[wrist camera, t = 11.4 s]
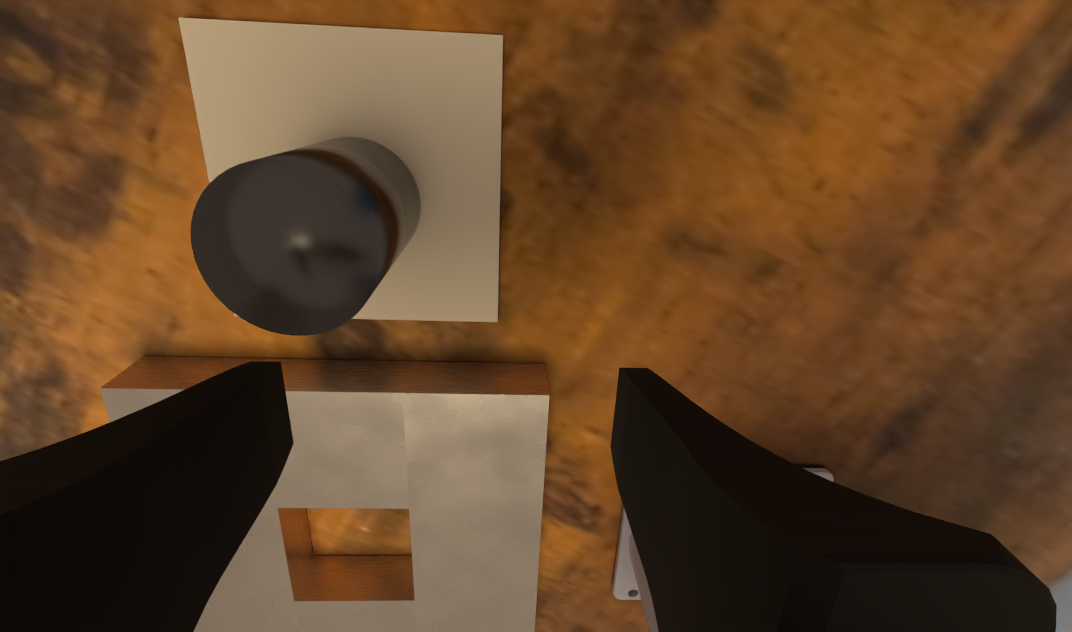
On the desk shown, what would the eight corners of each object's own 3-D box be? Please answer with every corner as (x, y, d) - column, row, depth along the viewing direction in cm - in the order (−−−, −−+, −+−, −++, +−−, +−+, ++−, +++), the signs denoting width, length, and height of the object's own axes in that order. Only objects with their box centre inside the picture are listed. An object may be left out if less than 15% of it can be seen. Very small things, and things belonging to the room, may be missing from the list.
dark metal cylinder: (420, 142, 18) (375, 166, 12) (420, 266, 20) (380, 340, 14) (288, 131, 18) (176, 151, 12) (299, 257, 20) (205, 330, 14)
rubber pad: (503, 35, 18) (503, 35, 17) (497, 318, 21) (497, 322, 21) (185, 19, 17) (178, 17, 17) (238, 312, 21) (234, 316, 21)
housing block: (545, 363, 22) (549, 395, 20) (529, 631, 29) (531, 679, 26) (143, 356, 21) (99, 388, 19) (217, 634, 28) (191, 684, 25)
